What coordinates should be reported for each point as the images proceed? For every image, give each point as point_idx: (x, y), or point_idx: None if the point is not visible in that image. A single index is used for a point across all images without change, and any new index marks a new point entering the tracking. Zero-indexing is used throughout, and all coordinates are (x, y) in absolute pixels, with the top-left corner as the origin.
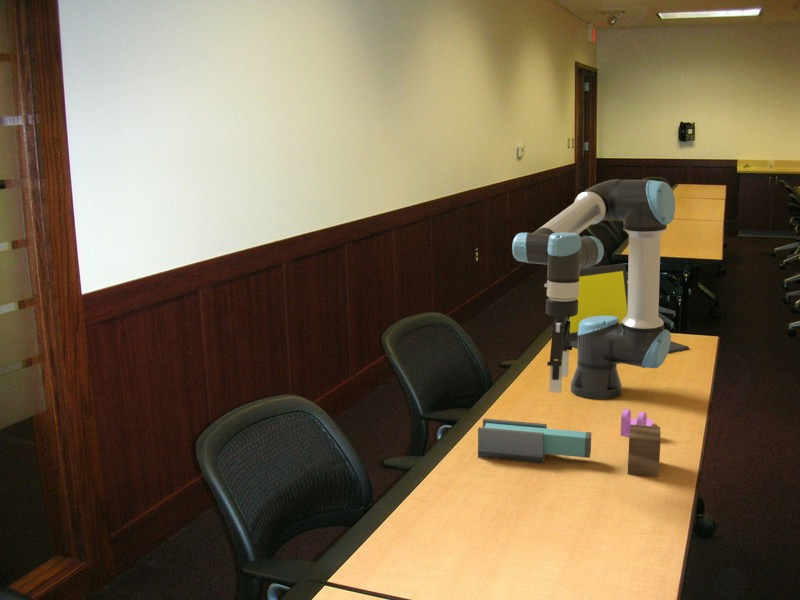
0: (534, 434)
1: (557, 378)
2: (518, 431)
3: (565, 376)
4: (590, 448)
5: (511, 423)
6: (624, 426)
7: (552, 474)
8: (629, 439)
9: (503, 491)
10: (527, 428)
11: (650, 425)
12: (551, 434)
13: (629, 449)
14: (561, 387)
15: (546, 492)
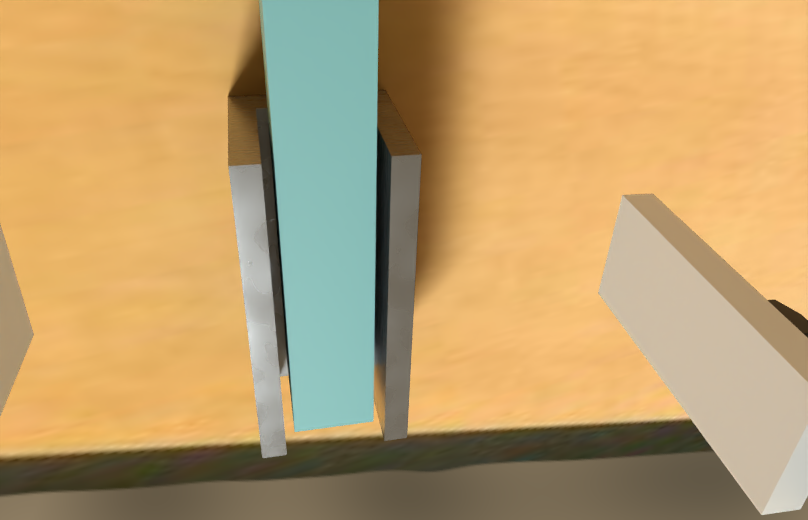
0: (418, 200)
1: (793, 319)
2: (398, 283)
3: (7, 249)
4: None
5: (275, 339)
6: None
7: (498, 23)
8: None
9: (673, 188)
10: (310, 252)
11: None
12: (368, 109)
13: None
14: (654, 220)
15: (684, 24)
